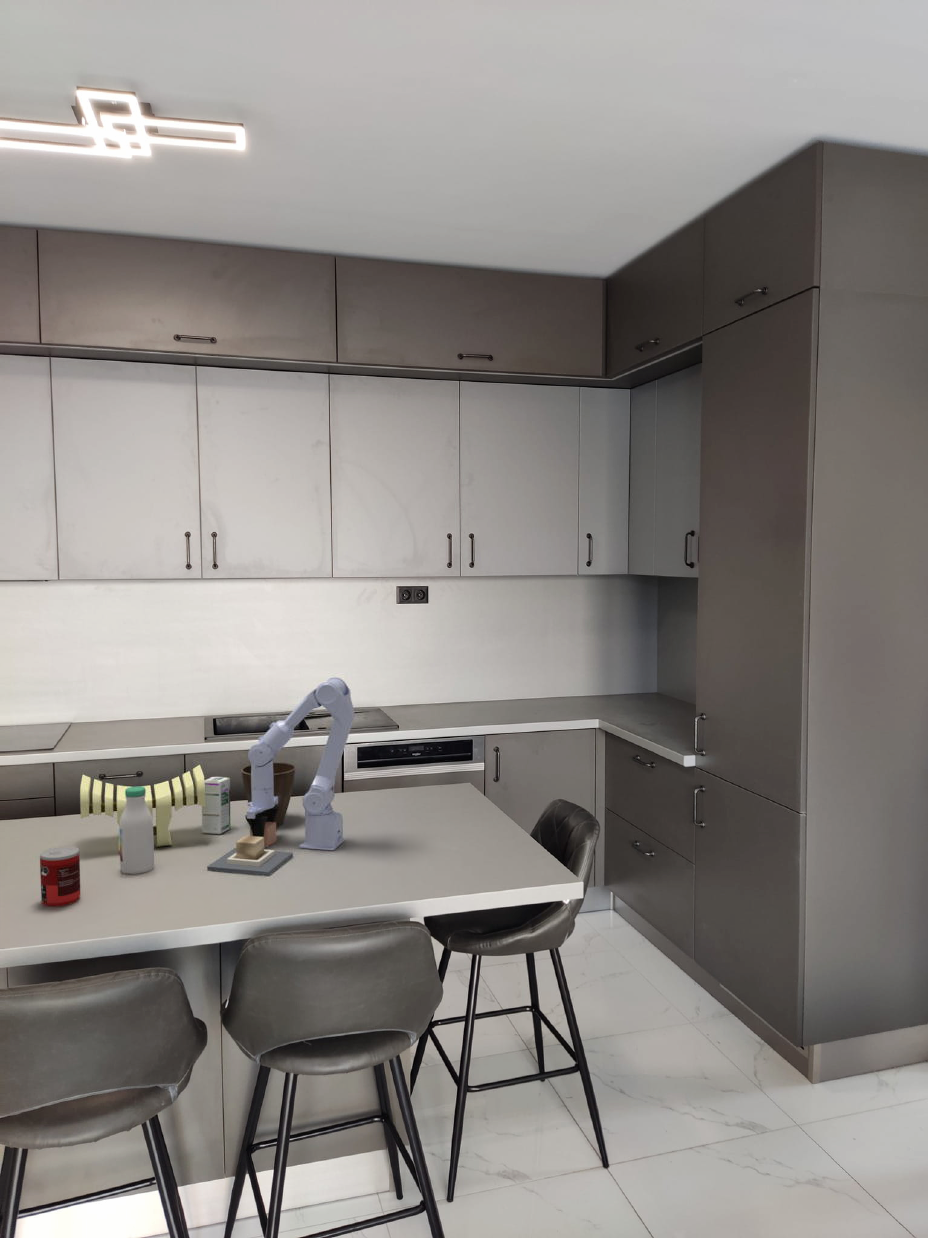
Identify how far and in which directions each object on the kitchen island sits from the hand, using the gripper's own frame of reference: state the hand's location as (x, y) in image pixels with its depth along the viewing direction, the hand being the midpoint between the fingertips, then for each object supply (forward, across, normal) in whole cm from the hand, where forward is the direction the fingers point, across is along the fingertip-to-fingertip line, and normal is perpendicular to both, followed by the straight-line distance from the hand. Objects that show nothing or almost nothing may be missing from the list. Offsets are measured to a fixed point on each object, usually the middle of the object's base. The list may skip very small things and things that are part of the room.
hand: (263, 837), depth 232 cm
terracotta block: (+1, 0, 0) cm, 1 cm away
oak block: (0, +15, +4) cm, 16 cm away
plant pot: (+2, -16, -6) cm, 17 cm away
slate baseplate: (+1, +15, +4) cm, 16 cm away
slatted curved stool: (+2, +7, -31) cm, 32 cm away
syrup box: (+2, -6, -17) cm, 18 cm away
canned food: (+2, +46, -26) cm, 53 cm away
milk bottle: (+2, +25, -21) cm, 33 cm away
